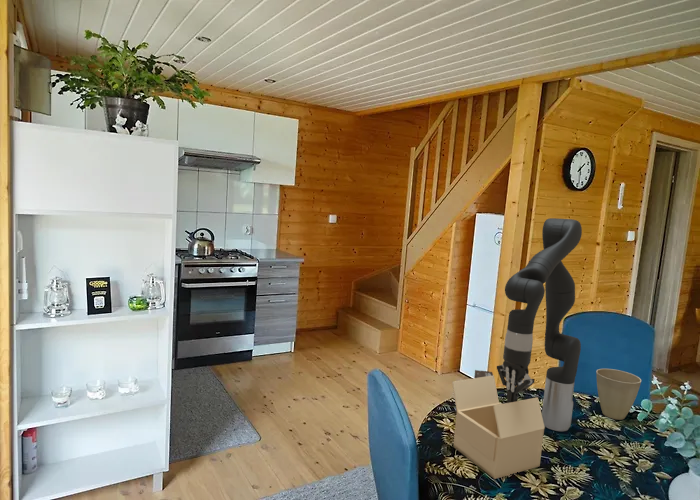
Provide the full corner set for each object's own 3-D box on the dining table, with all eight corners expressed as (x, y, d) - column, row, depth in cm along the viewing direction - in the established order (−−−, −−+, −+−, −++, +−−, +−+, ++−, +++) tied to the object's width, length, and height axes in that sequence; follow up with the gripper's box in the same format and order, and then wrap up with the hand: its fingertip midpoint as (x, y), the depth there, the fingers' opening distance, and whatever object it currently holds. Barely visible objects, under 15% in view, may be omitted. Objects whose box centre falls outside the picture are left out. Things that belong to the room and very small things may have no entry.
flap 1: (499, 402, 154) (497, 402, 154) (493, 375, 156) (492, 375, 156) (457, 410, 146) (456, 410, 146) (452, 381, 148) (451, 381, 148)
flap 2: (536, 397, 140) (537, 397, 140) (543, 428, 138) (544, 428, 137) (493, 405, 132) (494, 405, 132) (499, 438, 130) (501, 438, 129)
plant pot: (635, 414, 181) (641, 374, 179) (635, 428, 168) (641, 386, 166) (593, 403, 188) (598, 365, 187) (589, 416, 176) (594, 375, 174)
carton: (497, 436, 155) (500, 402, 154) (540, 465, 139) (545, 427, 138) (452, 447, 147) (455, 410, 145) (493, 479, 131) (497, 439, 129)
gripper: (545, 352, 131) (538, 410, 133) (510, 338, 143) (504, 391, 145) (526, 354, 128) (519, 414, 130) (492, 339, 140) (486, 395, 142)
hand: (511, 402), depth 137 cm, fingers closed
